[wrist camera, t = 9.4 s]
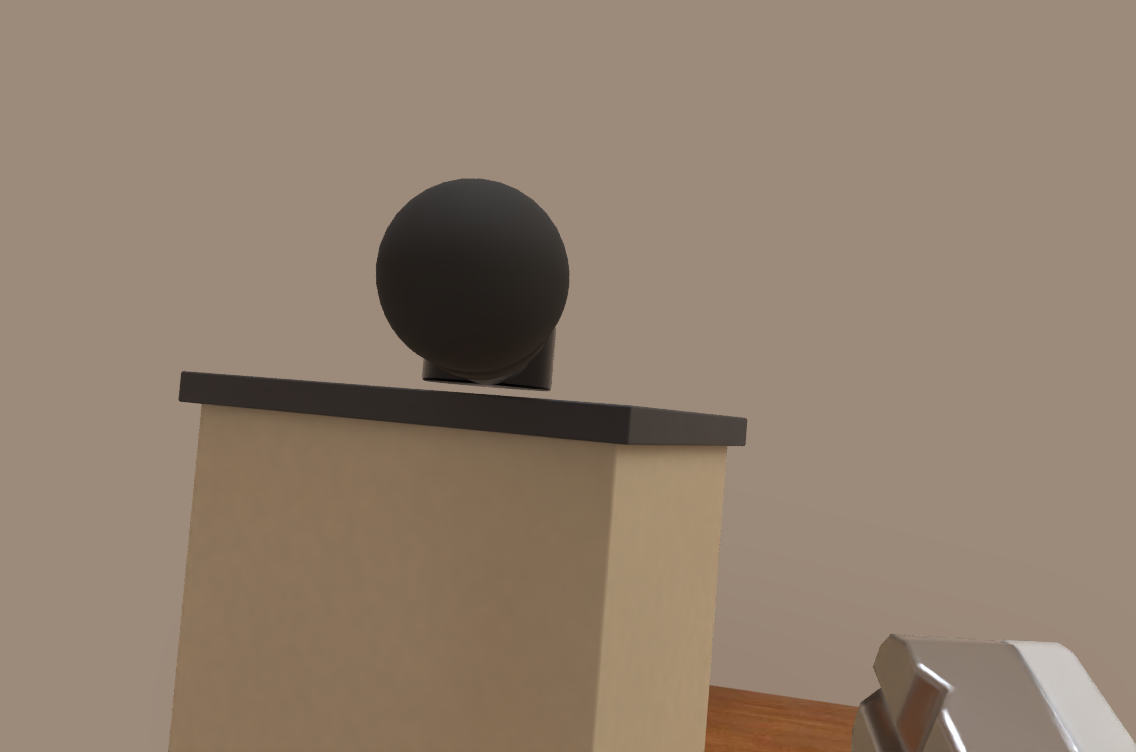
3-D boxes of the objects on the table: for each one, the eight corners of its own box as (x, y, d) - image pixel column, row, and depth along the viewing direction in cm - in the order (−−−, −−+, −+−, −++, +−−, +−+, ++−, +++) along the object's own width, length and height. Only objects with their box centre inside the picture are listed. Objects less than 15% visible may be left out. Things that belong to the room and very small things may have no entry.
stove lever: (608, 380, 11) (624, 170, 12) (309, 355, 11) (330, 140, 11) (547, 395, 28) (554, 309, 28) (427, 385, 28) (434, 298, 28)
